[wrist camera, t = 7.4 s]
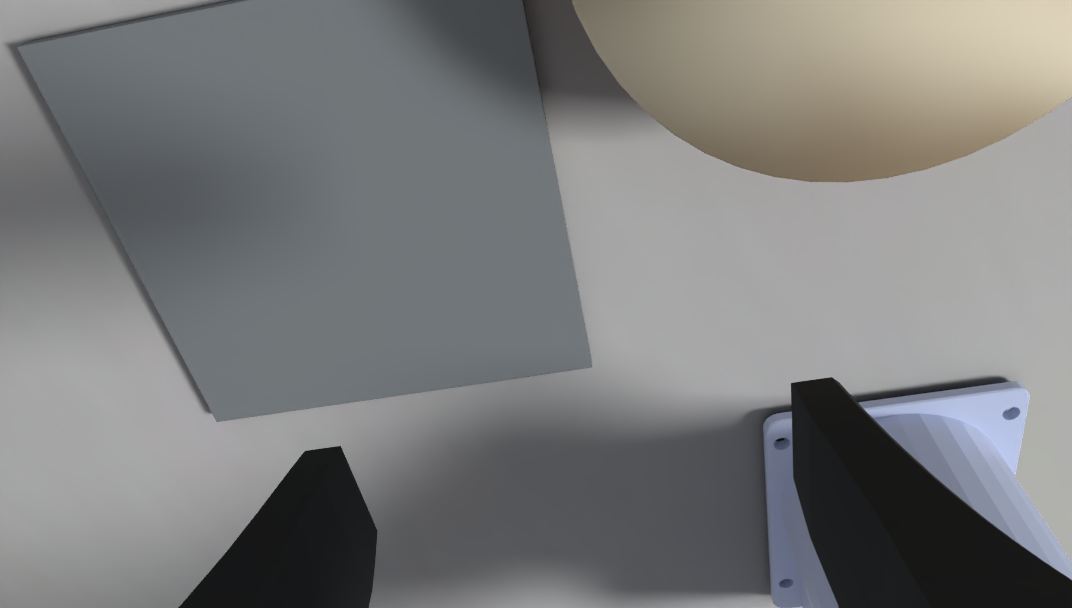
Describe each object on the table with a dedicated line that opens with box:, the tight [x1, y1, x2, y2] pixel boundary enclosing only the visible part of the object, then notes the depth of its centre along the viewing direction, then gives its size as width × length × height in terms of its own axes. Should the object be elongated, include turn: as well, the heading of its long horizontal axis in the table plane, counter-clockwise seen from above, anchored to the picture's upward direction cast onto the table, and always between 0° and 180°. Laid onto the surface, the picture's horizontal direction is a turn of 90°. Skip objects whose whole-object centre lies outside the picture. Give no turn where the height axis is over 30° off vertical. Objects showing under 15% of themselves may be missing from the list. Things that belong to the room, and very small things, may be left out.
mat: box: [17, 0, 592, 422], centre depth 22 cm, size 12×12×1 cm
